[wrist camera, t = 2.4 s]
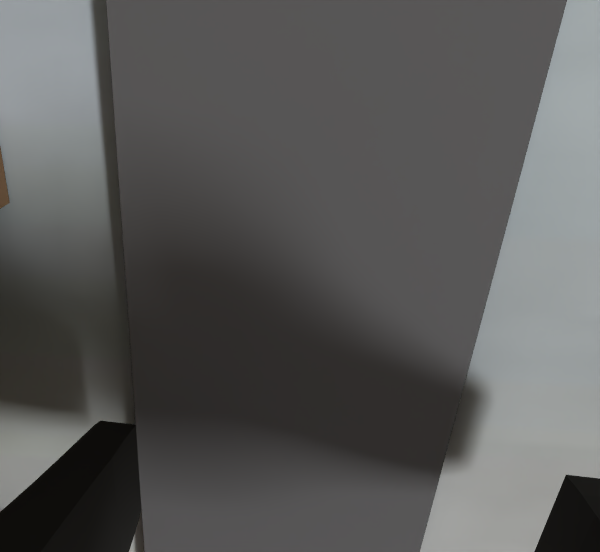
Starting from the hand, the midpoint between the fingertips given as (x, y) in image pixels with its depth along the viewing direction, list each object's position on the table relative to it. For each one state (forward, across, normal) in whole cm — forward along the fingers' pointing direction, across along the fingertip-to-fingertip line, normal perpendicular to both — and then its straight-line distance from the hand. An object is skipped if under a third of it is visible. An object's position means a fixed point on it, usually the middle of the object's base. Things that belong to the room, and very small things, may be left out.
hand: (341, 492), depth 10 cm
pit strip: (+2, +1, 0) cm, 2 cm away
